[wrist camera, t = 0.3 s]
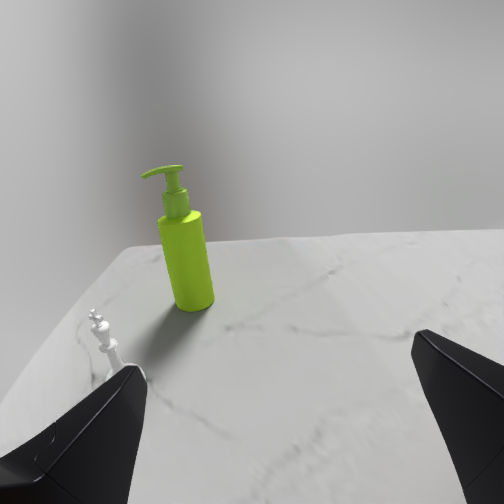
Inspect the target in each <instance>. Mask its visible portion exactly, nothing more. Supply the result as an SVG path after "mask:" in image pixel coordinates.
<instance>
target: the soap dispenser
mask: <svg viewBox="0 0 504 504" xmlns="http://www.w3.org/2000/svg"><path fill="white" fill-rule="evenodd" d="M181 170H183V166H182V165H171V166H163V167H159V168H155V169H152V170H150V171H147V172H145V173H143V174H142V175H141V177H142V178H144V179H146V178H147V177H150V176H152V175H156V174H160V173H165V175H166V181H167V187H168V189H167V190H166V191H165V192H164V193H163V194H162V197H163V203H164V208H165V214H166V215H165V216H163V217H161V218H160V219H159V220H158V227H159V232H160V237H161V242H162V246H163V251H164V255H165V260H166V264H167V269H168V273H169V277H170V281H171V285H172V289H173V293H174V297H175V301H176V305H177V307H178V308H179V309H181V310H183V311H187V312H195V311H200V310H203V309H205V308H207V307H209V306H210V305H211V304H212V303H213V302H214V292H213V286H212V280H211V275H210V269H209V263H208V257H207V251H206V244H205V238H204V232H203V225H202V219H201V213H200V212H198V211H192V210H191V209H190V203H189V196H188V190H187V189H186V188H183V187H181V186H180V180H179V173H178V171H181Z"/></svg>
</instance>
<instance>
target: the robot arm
mask: <svg viewBox="0 0 504 504" xmlns="http://www.w3.org/2000/svg"><path fill="white" fill-rule="evenodd" d="M411 356H412V360H413V362H414V365H415V368H416V371H417V374H418V377H419V380H420V383H421V386H422V389H423V391H424V394H425V396H426V399H427V401H428V403H429V405H430V408H431V410H432V412H433V414H434V417H435V419H436V421H437V424H438V426H439V428H440V431H441V433H442V436H443V438H444V440H445V443H446V445H447V448H448V450H449V453H450V456H451V458H452V461H453V464H454V466H455V469H456V472H457V475H458V477H459V480H460V483H461V486H462V489H463V493H464V496H465V499H466V502H467V504H504V366H503V365H501V364H499V363H496V362H494V361H492V360H490V359H488V358H486V357H484V356H482V355H480V354H478V353H476V352H474V351H472V350H470V349H467V348H465V347H463V346H461V345H459V344H457V343H455V342H453V341H451V340H449V339H447V338H445V337H442V336H440V335H438V334H436V333H434V332H432V331H430V330H428V329H425V330H421V331H418V332H416V334H415V336H414V341H413V345H412V350H411ZM146 397H147V383H146V380H145V378H144V376H143V374H142V372H141V370H140V368H139V367H138V366H136V365H127V366H125V367H124V368H122V369H121V370H120V371H119V372H117V373H116V374H115V375H113V376H112V377H111V378H110V379H108V380H107V381H106V382H105V383H103V384H102V385H101V386H100V387H98V388H97V389H96V390H95V391H93V392H92V393H91V394H90V395H88V396H87V397H86V398H84V399H83V400H82V401H81V402H79V403H78V404H77V405H76V406H74V407H73V408H72V409H70V410H69V411H68V412H67V413H65V414H64V415H63V416H62V417H60V418H59V419H58V420H56V422H54V423H52V424H51V425H50V426H49V427H47V428H46V429H45V430H43V431H42V432H41V433H39V434H38V435H36V436H35V437H33V438H32V439H30V440H29V441H27V442H26V443H24V444H23V445H21V446H19V447H18V448H16V449H15V450H13V451H11V452H10V453H8V454H7V455H5V456H3V457H1V458H0V504H127V502H128V496H129V491H130V485H131V480H132V475H133V470H134V465H135V461H136V456H137V451H138V447H139V442H140V438H141V433H142V428H143V422H144V413H145V405H146Z"/></svg>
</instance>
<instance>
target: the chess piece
mask: <svg viewBox="0 0 504 504" xmlns="http://www.w3.org/2000/svg"><path fill="white" fill-rule="evenodd" d="M88 316H89V319H91V320H94V322H95V324H94V325H93V326H92V328H91V332H92V333H93V334H94V335H95V336H96V337H97V338H98V340H99V341H100V344H99V350H100V351H101V352H104V353H107V355H108V358H109V360H110V363H111V366H112V369H111V370H110V371H109V373H108V374H107V376H106V381H107V380H108V379H110V378H111V377H112V376H113V375H115V374H116V373H117V372H119V371H120V370H121V369H122V368H124V367H125V366H127V365H136V364H133V363H123V361H122V360H121V358H120V357H119V355H118V354H117V352H116V350H115V348H116V347H117V341H116V340H115V339H114V338H110V331H109V330H110V328H109V324H108V322H106V321H103V320H104V319H103V317H102V316H100V315H98V314H97V312H96V310H95V309H92V310H91V311H90V314H89V315H88ZM136 366H138V365H136ZM138 367H139V368H140V370H141V372H142V374H143V376H144V378H145V380H146V375H145V373H144V371H143V370H142V368H141V367H140V366H138Z"/></svg>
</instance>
